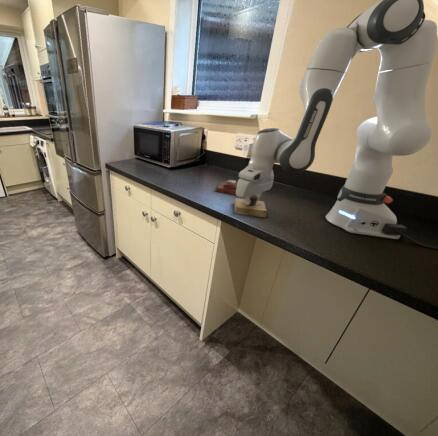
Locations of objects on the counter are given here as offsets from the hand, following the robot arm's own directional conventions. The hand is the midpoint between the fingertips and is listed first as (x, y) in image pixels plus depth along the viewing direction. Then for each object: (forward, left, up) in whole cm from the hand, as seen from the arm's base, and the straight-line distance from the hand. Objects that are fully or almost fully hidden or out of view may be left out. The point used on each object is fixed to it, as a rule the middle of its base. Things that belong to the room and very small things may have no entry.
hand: (251, 202), depth 100 cm
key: (+12, -20, 0) cm, 24 cm away
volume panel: (0, 0, -4) cm, 4 cm away
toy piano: (+12, -20, -4) cm, 24 cm away
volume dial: (0, 0, -1) cm, 1 cm away
